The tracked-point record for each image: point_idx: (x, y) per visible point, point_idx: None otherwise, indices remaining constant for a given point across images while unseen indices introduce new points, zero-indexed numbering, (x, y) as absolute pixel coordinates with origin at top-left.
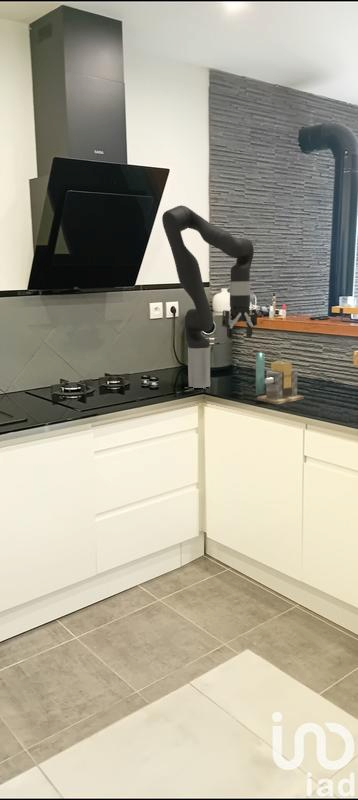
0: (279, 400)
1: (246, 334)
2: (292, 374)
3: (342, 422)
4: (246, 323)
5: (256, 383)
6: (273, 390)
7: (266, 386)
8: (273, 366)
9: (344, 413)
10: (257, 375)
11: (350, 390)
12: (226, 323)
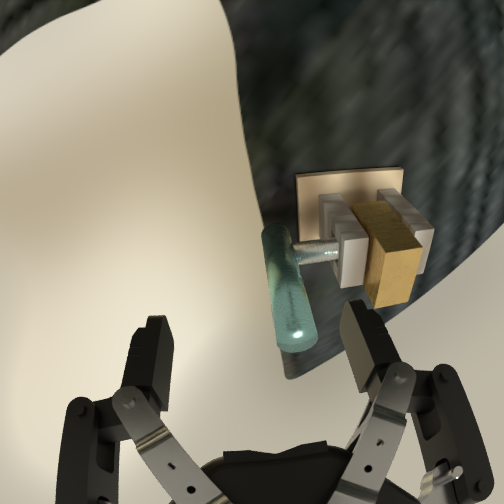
0: None
1: (352, 313)
2: None
3: (292, 372)
4: (377, 404)
5: (264, 253)
6: (325, 236)
7: (328, 211)
8: (377, 255)
9: (341, 344)
10: (267, 277)
11: (500, 224)
12: (100, 449)
